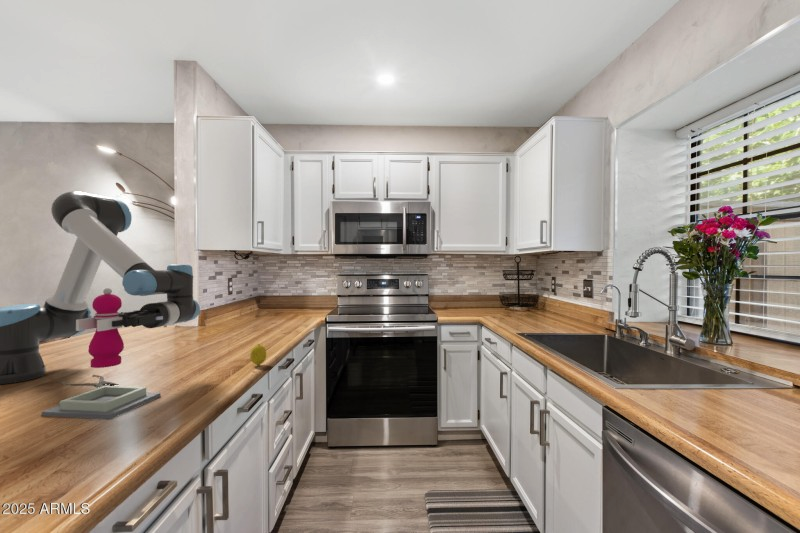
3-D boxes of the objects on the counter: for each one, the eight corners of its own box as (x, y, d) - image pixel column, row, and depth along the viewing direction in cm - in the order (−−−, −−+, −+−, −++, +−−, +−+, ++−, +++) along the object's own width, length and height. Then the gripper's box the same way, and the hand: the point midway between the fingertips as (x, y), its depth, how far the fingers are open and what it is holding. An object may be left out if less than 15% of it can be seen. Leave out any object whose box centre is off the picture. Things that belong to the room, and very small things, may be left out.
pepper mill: (130, 361, 99) (131, 287, 99) (106, 369, 92) (108, 288, 92) (105, 361, 100) (107, 287, 100) (80, 368, 93) (81, 288, 93)
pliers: (89, 374, 122) (138, 378, 118) (89, 376, 122) (138, 380, 118) (56, 382, 113) (108, 387, 109) (56, 385, 113) (108, 390, 109)
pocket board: (41, 415, 89) (41, 403, 89) (101, 393, 104) (101, 383, 104) (109, 419, 87) (110, 406, 87) (160, 396, 103) (160, 385, 103)
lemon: (262, 367, 134) (263, 345, 134) (247, 367, 134) (247, 345, 134) (268, 364, 139) (268, 342, 139) (254, 363, 139) (254, 342, 139)
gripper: (185, 327, 113) (121, 341, 90) (131, 326, 115) (54, 339, 91) (186, 302, 113) (121, 310, 90) (132, 302, 115) (55, 309, 92)
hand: (88, 325), depth 91 cm, fingers closed on pepper mill, 5 cm apart
